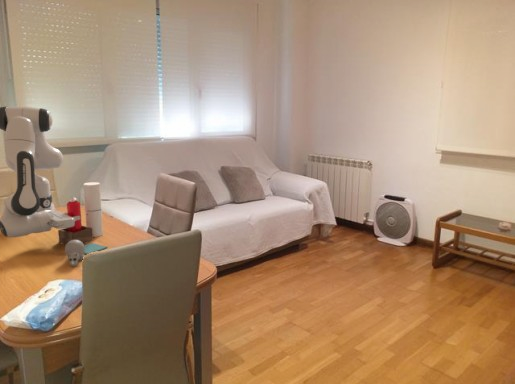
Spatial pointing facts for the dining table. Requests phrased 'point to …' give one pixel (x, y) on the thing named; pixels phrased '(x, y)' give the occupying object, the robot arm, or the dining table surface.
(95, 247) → the mat
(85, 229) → the brown open wooden box
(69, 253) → the grey animal figurine
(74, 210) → the red bottle
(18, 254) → the dining table surface
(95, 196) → the cylindrical container
